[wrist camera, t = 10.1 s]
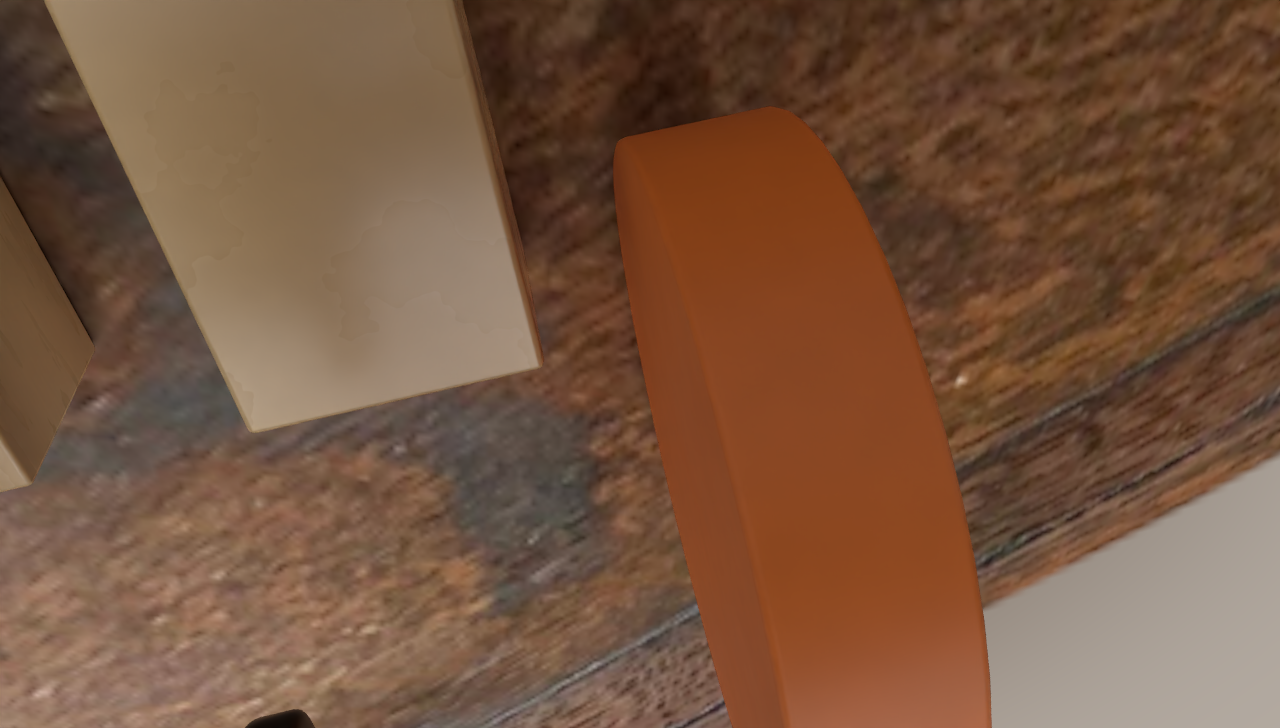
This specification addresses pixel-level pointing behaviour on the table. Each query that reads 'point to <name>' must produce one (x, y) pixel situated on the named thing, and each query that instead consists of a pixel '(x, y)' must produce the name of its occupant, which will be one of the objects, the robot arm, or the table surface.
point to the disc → (798, 433)
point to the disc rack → (288, 208)
